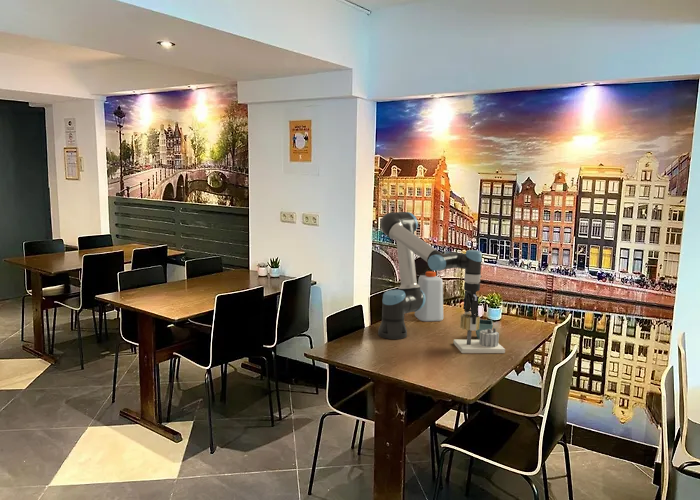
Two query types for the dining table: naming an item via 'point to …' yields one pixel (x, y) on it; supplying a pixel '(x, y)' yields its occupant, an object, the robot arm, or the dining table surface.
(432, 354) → the dining table surface
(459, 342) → the gear board
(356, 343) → the dining table surface
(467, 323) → the brass gear
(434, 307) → the plastic bottle
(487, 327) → the flower pot
